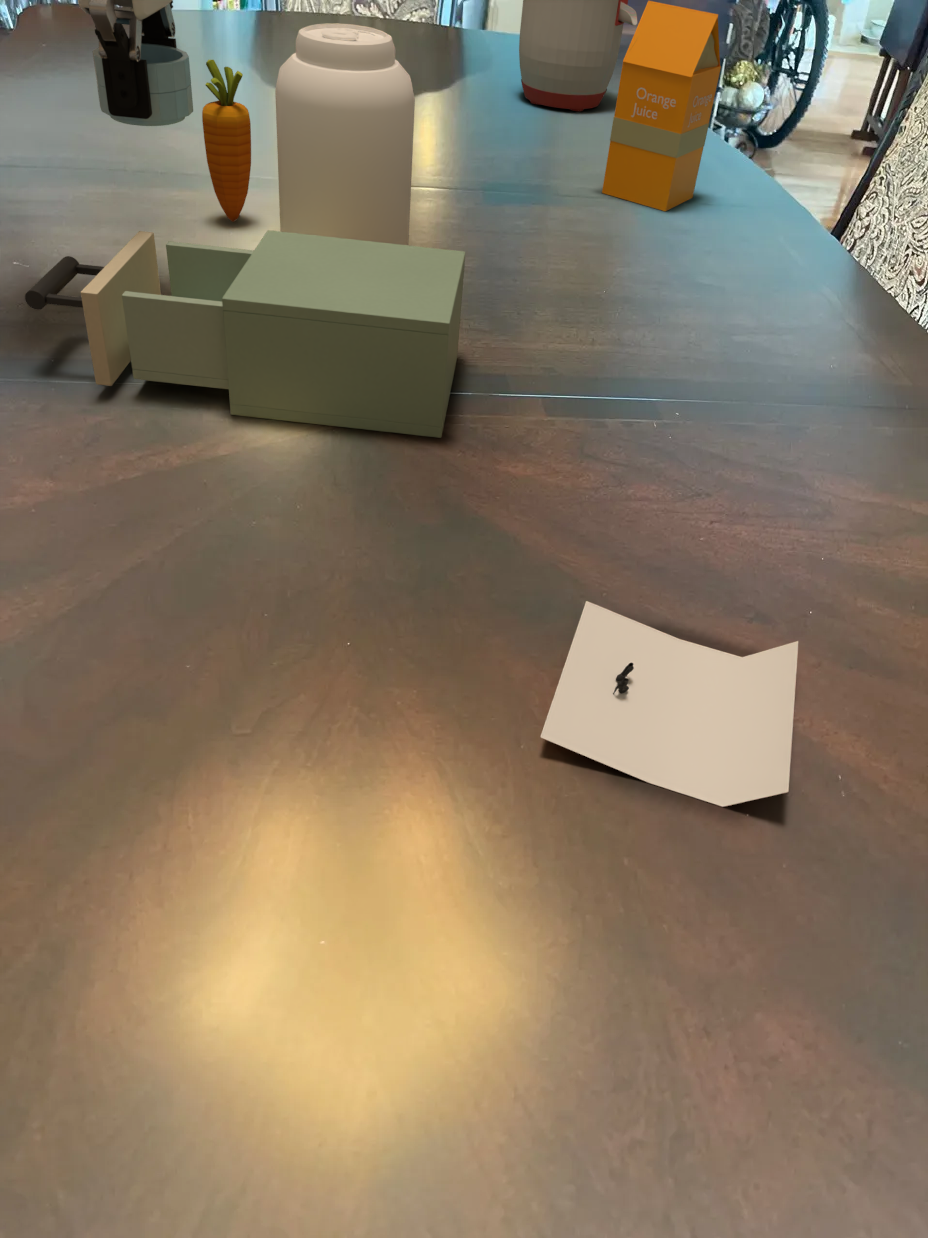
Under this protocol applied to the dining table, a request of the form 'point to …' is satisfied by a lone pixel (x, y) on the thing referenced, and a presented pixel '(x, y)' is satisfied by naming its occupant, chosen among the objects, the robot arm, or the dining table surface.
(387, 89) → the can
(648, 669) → the folded paper
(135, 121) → the bowl
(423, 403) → the grey-green cabinet box
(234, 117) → the carrot
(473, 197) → the dining table surface
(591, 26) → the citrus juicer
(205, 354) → the drawer
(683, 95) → the orange juice
